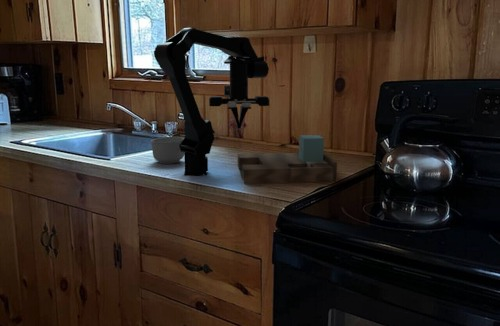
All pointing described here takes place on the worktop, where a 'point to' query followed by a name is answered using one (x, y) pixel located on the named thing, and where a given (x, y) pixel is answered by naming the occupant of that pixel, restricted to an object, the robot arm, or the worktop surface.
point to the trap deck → (285, 168)
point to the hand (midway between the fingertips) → (238, 128)
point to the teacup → (167, 149)
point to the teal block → (311, 148)
